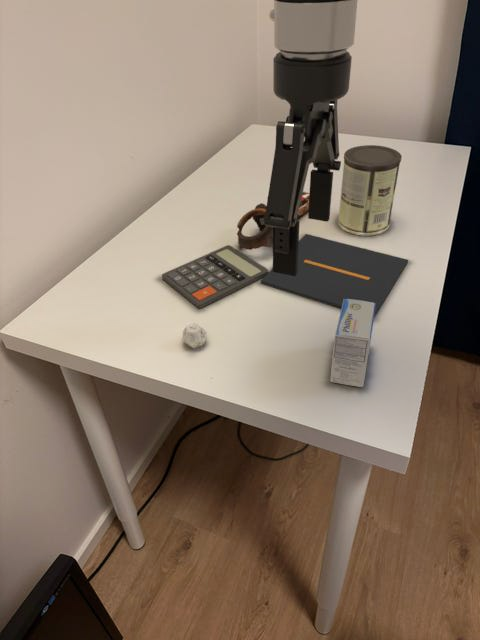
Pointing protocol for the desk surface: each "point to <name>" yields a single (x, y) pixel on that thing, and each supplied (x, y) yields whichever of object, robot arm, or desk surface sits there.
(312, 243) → the mat
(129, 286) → the desk surface
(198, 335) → the game die
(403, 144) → the desk surface
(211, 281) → the calculator
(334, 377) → the medicine box
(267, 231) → the brown looped frame
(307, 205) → the race car
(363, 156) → the coffee can
